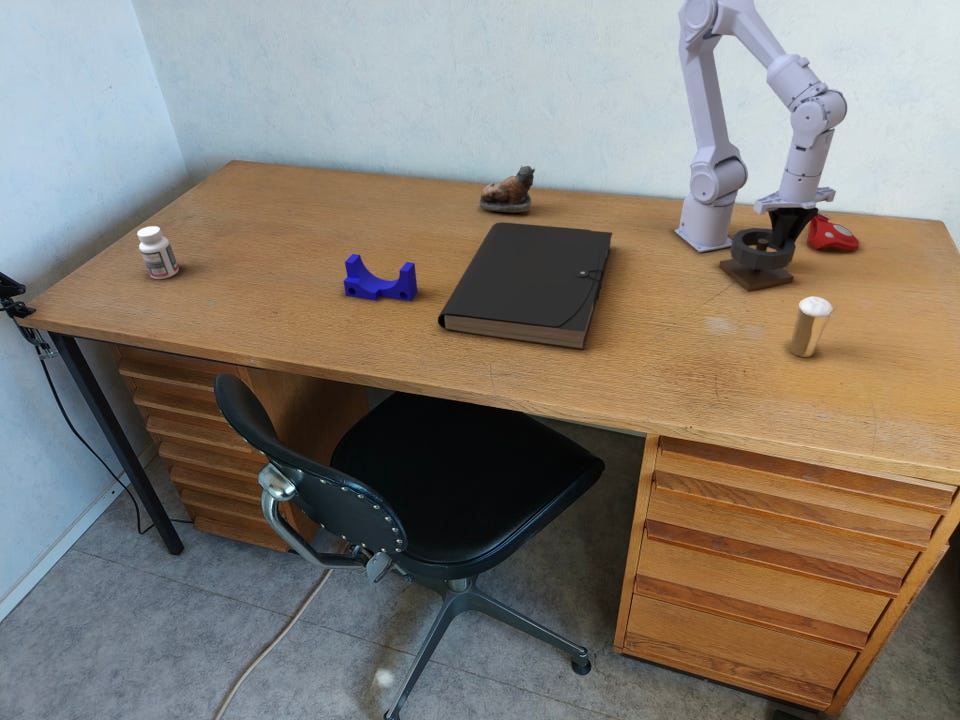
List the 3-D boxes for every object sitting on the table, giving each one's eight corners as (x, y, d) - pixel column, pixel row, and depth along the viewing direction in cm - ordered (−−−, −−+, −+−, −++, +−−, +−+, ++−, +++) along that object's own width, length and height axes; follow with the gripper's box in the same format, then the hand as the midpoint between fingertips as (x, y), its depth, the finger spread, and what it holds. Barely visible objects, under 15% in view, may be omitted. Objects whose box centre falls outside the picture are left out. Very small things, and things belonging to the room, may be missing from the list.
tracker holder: (872, 240, 125) (845, 243, 119) (856, 259, 128) (830, 263, 122) (822, 204, 131) (795, 206, 126) (808, 223, 134) (781, 225, 128)
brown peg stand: (718, 266, 121) (725, 234, 117) (760, 258, 123) (769, 225, 119) (748, 291, 114) (756, 257, 110) (792, 282, 116) (802, 248, 112)
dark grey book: (586, 329, 100) (436, 310, 106) (584, 350, 103) (438, 331, 109) (613, 230, 125) (491, 219, 131) (612, 250, 127) (491, 238, 133)
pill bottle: (168, 263, 129) (153, 221, 123) (184, 270, 126) (170, 228, 121) (144, 275, 126) (127, 233, 120) (160, 282, 123) (144, 240, 118)
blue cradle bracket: (345, 295, 118) (340, 266, 114) (357, 282, 121) (352, 253, 117) (407, 305, 114) (403, 276, 111) (417, 292, 118) (414, 263, 114)
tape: (719, 247, 119) (722, 233, 117) (767, 238, 121) (770, 224, 119) (753, 274, 111) (756, 259, 110) (803, 263, 114) (807, 249, 112)
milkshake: (806, 366, 98) (826, 310, 92) (778, 347, 102) (795, 292, 96) (828, 357, 100) (849, 301, 93) (799, 339, 103) (818, 284, 97)
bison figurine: (475, 214, 141) (474, 169, 135) (484, 200, 147) (483, 156, 140) (530, 219, 139) (531, 174, 132) (537, 205, 144) (538, 160, 138)
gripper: (781, 186, 103) (761, 262, 112) (857, 172, 107) (832, 247, 115) (753, 169, 109) (736, 243, 117) (827, 157, 112) (805, 229, 120)
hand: (782, 244), depth 116 cm, fingers closed on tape
